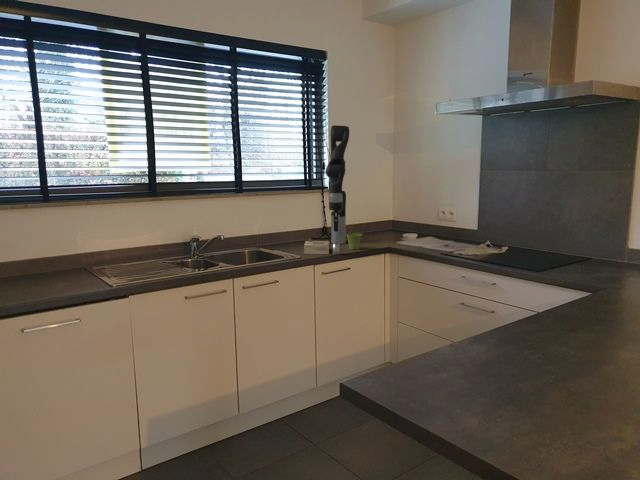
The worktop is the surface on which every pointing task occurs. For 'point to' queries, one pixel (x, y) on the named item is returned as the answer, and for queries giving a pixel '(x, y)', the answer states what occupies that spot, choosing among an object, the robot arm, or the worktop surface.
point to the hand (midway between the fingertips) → (335, 230)
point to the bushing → (336, 249)
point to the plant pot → (354, 240)
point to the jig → (316, 247)
